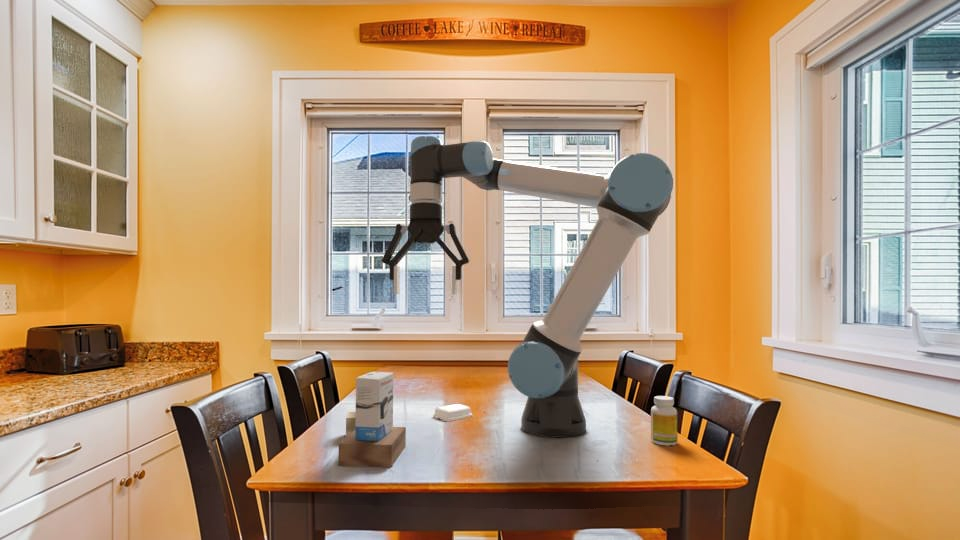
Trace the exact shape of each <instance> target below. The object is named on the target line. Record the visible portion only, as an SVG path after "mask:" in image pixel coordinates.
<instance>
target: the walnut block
mask: <svg viewBox="0 0 960 540" xmlns="http://www.w3.org/2000/svg"><path fill="white" fill-rule="evenodd" d="M406 429H407V427H406V426H393V430H391V431H390V432H389V433H388V434H386V435H385V436H384V437H383V438H381V439H380V440H379V441H365V440H355V430H354V431H353V432H351V433H350V434H349V435H348V436H347V437H346V436H345V438H343V439H342V440H341V441H340V442H339V443H338V463H337V465H338V466H340V467H345V466H347V467H348V466H349V467H380V468H382V467H383V468H386V467H387V468H392V467H393V466H394V464H395V462H396V461H397V460H398V458H399V457H400V455H401V454H402V453H403V451H404V450H405V448H406V447H407V446H406V434H407V433H406V432H407V430H406Z"/></svg>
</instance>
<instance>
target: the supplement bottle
mask: <svg viewBox="0 0 960 540" xmlns="http://www.w3.org/2000/svg"><path fill="white" fill-rule="evenodd" d="M653 403H654V405H653V406H652V407H651V409H650V439H651V442H652V443H653V444H655V445H659V446H663V445H665V446H666V447H670V445H673V446H676V445H677V444H678V437H679V436H678V411H677V409H676V407H673V406H674V404H675V399H674V397H672V396H667V395H656V396H654V397H653ZM665 446H664V447H665Z"/></svg>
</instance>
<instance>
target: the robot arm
mask: <svg viewBox="0 0 960 540" xmlns="http://www.w3.org/2000/svg"><path fill="white" fill-rule="evenodd" d="M409 160H410V161H409V162H410V182H409V183H410V184H409V187H410V188H409V202H410V203H411V204H410V205H409V223H408V225H404V224H401V223H397V224H396V225H395V232H394V235H393V237H392V239H391V241H390V243H389V245H388V247H387V248H386V250H385V252H384V254H383V257H382V259H381V263H382V264H384V265H385V264H386V265H388V266H389V280H390V281H393V295H400V291H401V290H400V289H401V288H400V284H401V283H400V280H401V279H400V276H401V275H400V274H401V272H400V270H401V269H400V267H401V266H398V264H399V263H400V262H401V260H402V259H403V258H404V257H405V256H406V255H407V253H408V252H409V251H410V250H411V248H413V247H414V245H416V244H417V243H418V244H420V245H422V244H423V245H424V244H429V245H431V244H432V245H433V244H434V243H437V244H438V245H439V246H440V248H441V249H442V250H443V251H444V252H445V255H447V256H448V257H449V259H451V261H452V262H453V264H454V265H455V266H454V265H451V267H452V268H451V270H452V272H451V276H452V277H451V283H452V284H451V295H457V292H458V291H457V290H458V289H457V288H458V285H457V281H461V279H462V267H463V266H464V265H466V264H469V263H470V259H469V258H468V257H469V256H468V255H467V254H466V251H465V249H464V247H463V245H462V244H461V241H460V239H459V237H458V235H457V231H456V230H457V229H456V226H455V224H454V223H449V224H445V225H444V224H443V206H442V203H443V179H444V178H445V179H449V178H463V179H465V180H466V181H469V182H470V183H472V184H474V185H475V186H476V187H477V188H479V189H481V190H486V191H493V190H494V191H495V190H496V191H502V192H508V193H514V194H520V195H526V196H531V197H536V198H540V199H541V198H542V199H546V200H553V201H558V202H565V203H569V204H573V205H574V204H575V205H581V206H586V207H591V208H595V209H596V212H597V215H598V219H597V220H596V223H595V225H594V226H593V228H592V230H591V231H590V234H589V235H588V238H587V240H586V241H585V243H584V245H583V247H582V248H581V250H580V251H579V254H578V256H577V257H576V259H575V261H574V263H573V265H572V266H571V268H570V270H569V272H568V274H567V275H566V277H565V279H564V281H563V283H562V284H561V286H560V288H559V290H558V292H557V293H556V296H555V297H554V299H553V301H552V303H551V305H550V306H549V308H548V310H547V312H546V313H545V316H544V317H543V318H542V319H540V320H537V321H534V322H533V323H532V324H531V326H530V327H529V329H528V331H527V333H526V335H525V337H524V338H523V341H522V342H521V343H520V344H519V345H517V346H516V347H515V348H514V349H513V350H512V352H511V354H510V356H509V358H508V361H507V362H508V363H507V373H508V377H509V380H510V382H511V383H512V385H513V387H514V388H515V389H516V390H517V391H518V392H519V393H520V394H523V395H524V396H526V397H527V400H526V403H525V407H524V409H523V412H522V414H521V415H522V416H521V422H520V423H521V426H520V428H521V430H523V431H524V432H526V433H529V434H531V435H536V436H541V437H542V436H543V437H547V438H548V437H550V438H571V437H575V436H580V435H582V434H584V433H586V431H587V421H586V420H587V419H586V417H585V415H584V410H583V408H582V404H581V402H580V399H579V357H580V355H581V353H582V351H583V348H582V344H581V338H582V336H583V334H584V332H585V331H586V329H587V327H588V325H589V323H590V322H591V320H592V318H593V316H594V315H595V313H596V311H597V310H598V309H599V306H600V304H601V302H602V300H603V299H604V297H605V296H606V293H607V292H608V291H609V288H610V287H611V285H612V283H613V281H614V280H615V278H616V276H617V274H618V273H619V271H620V269H621V267H622V266H623V263H624V262H625V260H626V258H627V256H628V255H629V254H630V251H631V249H632V248H633V246H634V244H635V242H636V241H637V239H638V238H640V237H643V236H646V235H649V233H650V231H651V230H652V228H653V226H654V224H655V223H656V221H657V220H658V218H659V216H661V215H662V214H663V213H664V212H665V210H666V209H667V208H668V206H669V204H670V201H671V198H672V197H671V196H672V193H673V188H674V178H673V174H672V171H671V169H670V168H669V165H667V163H666V162H665V161H664V160H663V159H661V158H660V157H659V156H656V155H654V154H651V153H648V152H647V153H646V152H645V153H644V152H637V153H633V154H629V155H627V156H625V157H624V158H622V159H620V160H619V161H618V162H617V163H616V164H615V165H614V166H613V168H612V170H611V172H610V173H608V174H607V175H604V174H598V173H597V174H596V173H592V172H584V171H579V170H572V169H565V168H558V167H552V166H545V165H537V164H532V163H526V162H518V161H513V160H507V159H506V160H503V159H500V158H499V159H497V158H494V155H493V150H492V148H491V145H490V144H489V142H487V141H482V140H481V141H480V140H478V141H475V140H470V141H466V142H459V143H450V144H443V141H442V139H440V138H439V137H437V136H433V135H429V136H427V135H421V136H417V137H415V138H413V139H412V141H411V143H410V154H409ZM407 231H408V233H409V234H410V237H409V238H408V239H406V240H407V241H406V242H405V243H404V244H403V246H402V247H401V248H400V249H399V250H398V252H396V254H395V255H394V253H395V251H396V249H397V247H398V245H399V244H400V242H401V239H402V237H403V235H405V234H406V232H407ZM445 231H446V233H447V234H449V235H450V237H451V240H452V241H453V243H454V245H455V247H456V249H457V251H458V254H459V255H460V258H461V259H459V258H458V257H457V255H455V253H454V252H453V251H452V249H450V248H449V246H448V245H447V244H446V242H445V241H444V240H443V239H442V237H441V235H442V234H443V232H445ZM393 255H394V256H393ZM392 257H393V258H392Z"/></svg>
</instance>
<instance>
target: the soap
mask: <svg viewBox="0 0 960 540" xmlns="http://www.w3.org/2000/svg"><path fill="white" fill-rule="evenodd" d="M471 417H473V413H472V409H471V407H470V406H467V405H465V404H460V403H455V404H454V403H453V404H448V405H443V406H440V407H436V408H435V409H434V413H433V415H432V418H434V419H436V420H438V419H440V421H444V422H447V423H449V422H453V421H457V420H463V419H467V418H471Z"/></svg>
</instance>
